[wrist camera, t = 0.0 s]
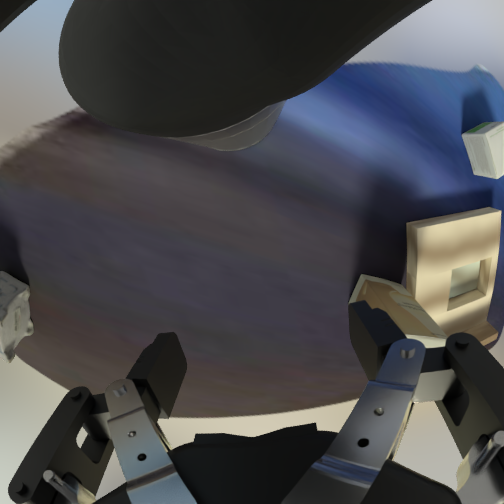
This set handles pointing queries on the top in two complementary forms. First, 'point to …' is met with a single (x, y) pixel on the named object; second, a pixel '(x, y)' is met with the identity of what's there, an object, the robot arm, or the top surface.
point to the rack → (455, 269)
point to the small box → (486, 149)
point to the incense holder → (13, 315)
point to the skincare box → (399, 309)
